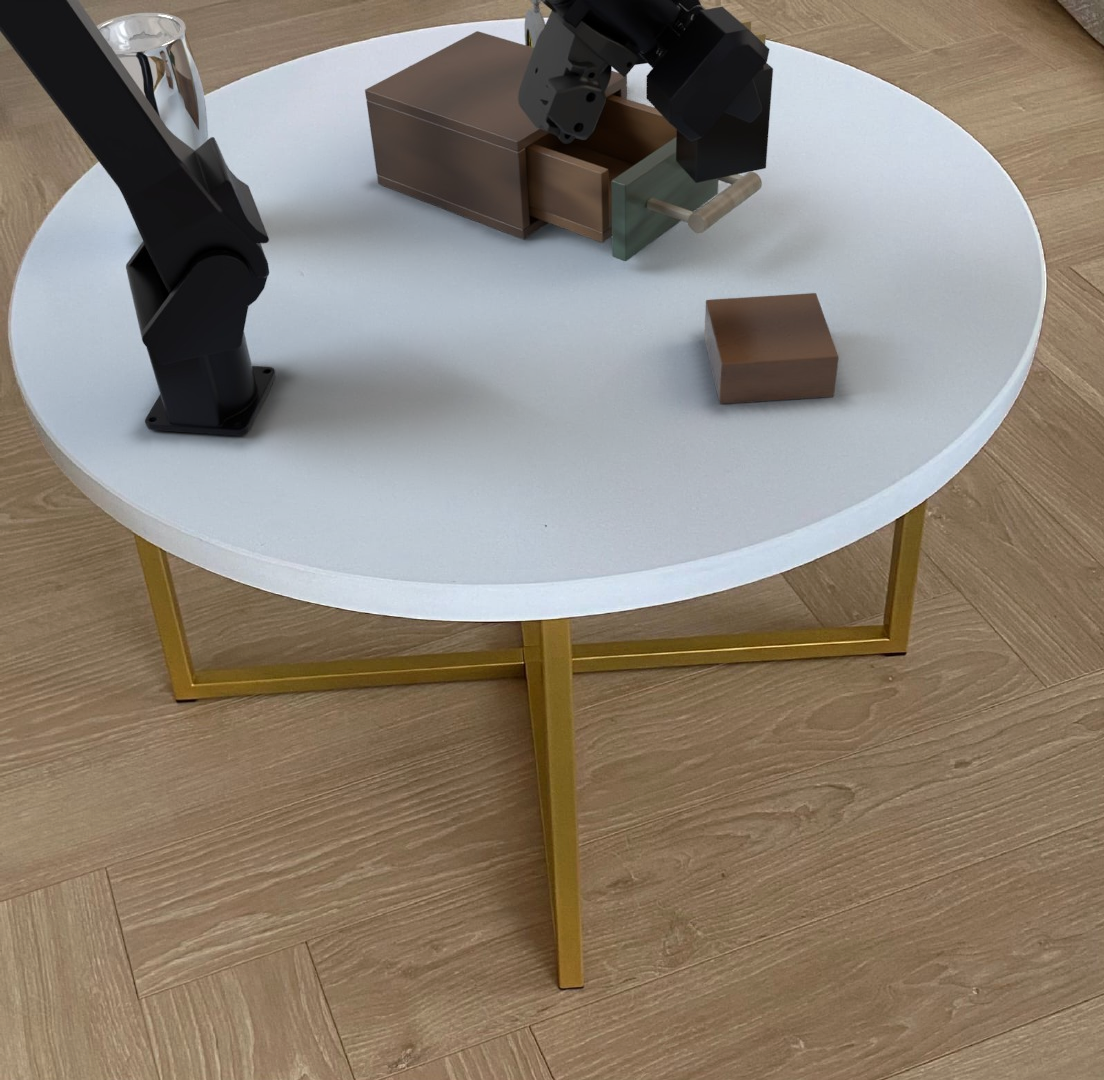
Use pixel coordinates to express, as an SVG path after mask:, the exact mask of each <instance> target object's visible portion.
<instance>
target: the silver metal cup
mask: <svg viewBox="0 0 1104 1080" xmlns="http://www.w3.org/2000/svg"><path fill="white" fill-rule="evenodd" d="M96 26H97V28H98V29H99V31H100V32H101V34H102V35H103V36H104V38H105V39H106V41H107V42H108V44H109V45H110V47H111V48H112V49H113V51H114V52H115V54H116V55H117V57H118V58H119V59H120V61H121V62H122V64H123V65H124V67H125V68H126V69H127V71H128V72H129V74H130V75H131V77H132V78H133V80H134V81H135V82H136V84H137V85H138V87H139V88H140V90H141V91H142V92H143V94H144V95H145V97H146V98H147V100H148V101H149V102H150V104H151V105H152V107H153V108H154V110H155V111H156V113H157V114H158V115H159V117H160V118H161V120H162V121H163V123H164V124H165V125H166V127H167V128H168V129H169V130H170V131H171V132H172V133H173V134H174V135H175V136H176V137H177V138H179V139H180V140H181V141H183V142H184V143H185V144H187V145H188V146H189V147H191V148H192V149H193V150H196V149H198V148H199V147H200V146H201V145H202V144H204V143H205V142H206V141H207V140H208V139H209V128H208V126H209V125H208V115H207V104H206V97H205V93H204V88H203V83H202V79H201V76H200V71H199V67H198V64H197V61H196V58H195V54H194V50H193V47H192V45H191V42H190V38H189V36H188V32H187V29H186V27H187V26H186V24H185V22H184V21H183V20H182V19H181V18H180V17H178V16H175V15H172V14H168V13H162V12H137V13H132V14H131V13H130V14H126V15H121V16H117V17H114V18H111V19H109V20H106V21H104V22H100V23H99V24H97V25H96Z"/></svg>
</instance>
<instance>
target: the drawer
mask: <svg viewBox="0 0 1104 1080" xmlns="http://www.w3.org/2000/svg"><path fill="white" fill-rule="evenodd" d="M676 138H677V129H676V128H674V127H673V126H672V125H671V124H670V123H669V122H668V121H667V120H666V119H665V118H664V117H663V116H662V115H661V114H660V112H659V111H658V110H657V109H656V108H655V107H654V106H650V105H647V104H644V103H640V102H638V101H634V100H631V99H628V98H627V99H625V98H621V97H618V96H615V95H610V96H608V97H607V98H606V102H605V104H604V107H603V109H602V112H601V114H600V117H599V119H598V122H597V124H596V126H595V129H594V131H593V133H592V134H591V135H590V136H589V137H588V138H587V139H585V140H581V139H578V138H575V139H574V140H573V141H572V142H571V143H569V144H564V143H562V142H561V140H560V139H559V138H558V137H557V136H556V135H554V134H552V133H548V134H547V135H545V136H543V137H542V138H540V139H539V140H537V141H535V142H534V143H532V144H530V145H529V146H527V147H525V154H526V171H527V188H528V205H529V216H532V217H535V218H538V219H540V220H543V221H546V222H548V224H551V225H554V226H557V227H559V228H562V229H565V230H568V231H570V232H572V233H576V234H578V235H581V236H583V237H586V238H589V239H591V240H595V241H597V242H600V243H605V242H606V241H608V240H609V239H610V238H611V256H612V258H616V259H618V260H620V261H623V262H627V261H629V260H630V259H631V258H633V257H634V256H635V255H637V254H638V253H640V252H642V251H643V250H644V249H645V248H647V247H648V246H649V245H650V244H652V243H653V242H655V241H656V240H658V239H659V238H660V237H661V236H663V235H664V234H665V233H667V232H668V231H669V230H671V229H672V228H673V227H675V226H677V224H679V223H680V222H685V223H687V224H688V227H689V229H690V231H692V232H693V233H695V234H703V233H704V232H705V231H707V230H708V229H709V228H711V227H712V226H713V225H715V224H716V223H717V222H718V221H720V220H722V218H724V217H726V216H727V215H728V214H729V213H730V212H732V211H734V209H736V208H737V207H738V206H740V205H741V204H742V203H744V202H746V200H748V199H749V198H751V196H753V195H754V194H756V193H757V192H758V191H759V190H761V189H762V185H763V181H762V178H761V176H760V175H759V174H757V173H756V172H755V171H751V172H746V173H745V174H744V175H741V174H736V175H732V176H727V177H722V178H717V179H713V180H708V181H703V182H698V183H695V181H694V180H693V179H692V178H691V177H690V176H689V175H688V174H687V173H686V171H685V170H684V169H683V168H682V167H681V166H680V165H679V164H678V162H677V161H676ZM719 181H720V182H723V183H726V184H729V186H728V187H726V188H725V189H724V190H722V191H721V192H720V193H719Z"/></svg>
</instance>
